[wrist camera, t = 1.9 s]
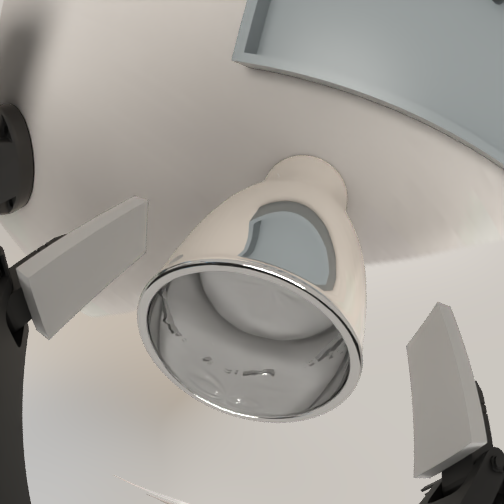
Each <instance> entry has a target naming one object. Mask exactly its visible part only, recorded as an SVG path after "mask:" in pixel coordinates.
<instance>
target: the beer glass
mask: <svg viewBox="0 0 504 504" xmlns="http://www.w3.org/2000/svg"><path fill="white" fill-rule="evenodd" d="M346 208H347V189H346V186H345V183H344V181H343V179H342V177H341V175H340V174H339V173H338V171H337V170H336V169H335V168H334V167H333V166H332V165H330V164H329V163H327V162H326V161H324V160H322V159H320V158H317V157H314V156H309V155H297V156H292V157H288V158H286V159H284V160H282V161H280V162H279V163H277V164H276V165H275V166H274V167H273V168H272V169H271V170H270V171H269V173H268V174H267V176H266V178H265V180H264V181H263V182H260V183H257V184H254V185H252V186H250V187H248V188H246V189H244V190H242V191H240V192H238V193H236V194H234V195H232V196H231V197H229V198H228V199H227V200H225V201H224V202H223V203H221V204H220V205H219V206H218V207H216V208H215V209H214V210H213V211H211V212H210V213H209V214H208V215H207V216H206V217H205V218H204V219H203V220H202V221H201V222H200V223H199V224H198V225H197V226H196V227H195V228H194V229H193V230H192V231H191V233H190V234H189V235H188V236H187V237H186V238H185V240H184V241H183V242H182V243H181V244H180V246H179V247H178V248H177V249H176V251H175V252H174V253H173V254H172V256H171V257H170V258H169V260H168V261H167V262H166V264H165V265H164V266H163V267H162V269H161V270H160V271H159V272H158V274H157V275H155V276H154V277H153V278H152V279H151V280H150V281H149V282H148V284H147V285H146V287H145V288H144V290H143V292H142V294H141V296H140V299H139V303H138V308H137V322H138V328H139V333H140V336H141V339H142V341H143V344H144V346H145V348H146V350H147V352H148V353H149V355H150V357H151V358H152V360H153V361H154V363H155V364H156V365H157V366H158V368H159V369H160V370H161V371H162V372H163V373H164V374H165V375H166V376H167V377H168V378H169V379H170V380H171V381H172V382H173V383H174V384H175V385H177V386H178V387H179V388H180V389H181V390H183V391H184V392H185V393H187V394H188V395H190V396H191V397H193V398H195V399H196V400H198V401H200V402H201V403H204V404H205V405H207V406H210V407H212V408H214V409H216V410H219V411H221V412H223V413H226V414H229V415H232V416H235V417H240V418H243V419H248V420H253V421H260V422H271V423H286V422H296V421H302V420H307V419H311V418H314V417H317V416H320V415H323V414H325V413H327V412H329V411H331V410H333V409H334V408H336V407H337V406H339V405H340V404H341V403H343V401H345V400H346V399H347V398H348V397H349V396H350V395H351V393H352V392H353V391H354V389H355V387H356V386H357V384H358V381H359V379H360V376H361V372H362V367H363V355H362V350H363V340H364V329H365V319H366V275H365V266H364V261H363V255H362V250H361V246H360V242H359V239H358V237H357V234H356V232H355V229H354V227H353V225H352V223H351V220H350V219H349V217H348V215H347V213H346V212H345V211H346Z"/></svg>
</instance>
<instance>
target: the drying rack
mask: <svg viewBox="0 0 504 504" xmlns="http://www.w3.org/2000/svg"><path fill="white" fill-rule="evenodd" d="M232 61H235V62H237V63H240V64H242V65H245V66H247V67H250V68H255V69H261V70H266V71H271V72H275V73H280V74H284V75H288V76H293V77H297V78H301V79H305V80H308V81H312V82H316V83H319V84H323V85H326V86H329V87H333V88H336V89H339V90H342V91H345V92H348V93H351V94H354V95H357V96H360V97H362V98H365V99H368V100H371V101H373V102H376V103H378V104H381V105H384V106H386V107H388V108H391V109H393V110H396V111H398V112H400V113H403V114H405V115H407V116H409V117H412V118H414V119H416V120H418V121H420V122H422V123H424V124H427V125H429V126H431V127H433V128H435V129H437V130H439V131H440V132H442V133H444V134H446V135H448V136H450V137H452V138H454V139H455V140H457V141H459V142H461V143H463V144H464V145H466V146H468V147H469V148H471V149H473V150H474V151H476V152H478V153H479V154H481V155H483V156H484V157H486V158H487V159H489V160H490V161H492V162H494V163H495V164H497V165H498V166H500V167H501V168H502V169H504V0H247V3H246V7H245V11H244V14H243V18H242V22H241V25H240V29H239V33H238V37H237V41H236V45H235V49H234V53H233V57H232Z"/></svg>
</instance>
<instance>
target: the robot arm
mask: <svg viewBox="0 0 504 504" xmlns="http://www.w3.org/2000/svg"><path fill="white" fill-rule="evenodd" d="M32 184H33V156H32V148H31V142H30V137H29V133H28V130H27V126H26V124H25V121H24V119H23V117H22V115H21V113H20V112H19V110H18V109H17V108H16V107H15V106H14V105H12V104H3V105H0V215H5V214H10V213H12V212H14V211H16V210H18V209H20V208H22V207H23V206H25V204H26V203H27V202H28V200H29V197H30V194H31V190H32ZM147 215H148V200H147V199H144V198H141V197H138V196H133V197H131V198H130V199H128V200H126V201H124V202H122V203H120V204H118V205H117V206H115V207H113V208H111V209H109V210H108V211H106V212H104V213H102V214H100V215H99V216H97V217H95V218H93V219H92V220H90V221H88V222H87V223H85V224H83V225H82V226H80V227H78V228H77V229H75V230H73V231H72V232H70V233H68V234H65V235H62V236H59V237H56V238H54V239H52V240H51V241H49V242H47V243H46V244H45V246H41V247H40V248H38V249H37V251H36V250H35V251H34V252H32V253H31V254H29V255H28V256H26V257H25V258H23V259H22V260H20V261H19V262H18V263H16V264H15V265H13V266H12V267H11V268H8V265H7V261H6V257H5V254H4V250H3V248H2V247H1V246H0V504H31V501H30V496H29V490H28V485H27V477H26V469H25V461H24V448H23V431H22V430H23V429H22V397H23V377H24V365H25V354H26V346H27V338H28V332H29V328H28V324H27V322H28V321H30V320H31V319H32V320H33V322H34V325H35V327H36V330H37V331H38V332H40V333H41V334H42V335H43V336H45V337H46V338H47V339H48V340H50V339H51V338H52V337H53V336H54V335H55V334H56V333H57V332H58V331H59V330H60V329H61V328H62V327H63V326H64V325H65V324H66V323H67V322H68V321H69V320H70V319H71V318H73V316H75V314H77V313H78V312H79V311H80V310H81V309H82V308H83V307H84V306H85V305H87V304H88V303H89V302H90V301H91V300H92V299H93V298H94V297H95V296H96V295H97V294H99V293H100V292H101V291H102V290H103V289H104V288H105V287H106V286H108V285H109V284H110V283H111V282H112V281H113V280H114V279H116V278H117V277H118V276H119V275H120V274H121V273H122V272H124V271H125V270H126V269H127V268H128V267H129V266H131V265H132V264H133V263H134V262H135V261H137V260H138V259H139V258H140V257H141V256H142V255H144V254H145V253H146V236H147ZM406 348H407V355H408V363H409V372H410V381H411V392H412V405H413V423H414V478H431V477H433V476H434V475H437V474H438V473H440V472H442V478H441V479H439V480H437V481H435V482H434V483H431V484H430V485H427V486H425V487H424V488H423V489H422V490H421V491H422V492H423V491H425V490H427V489H430V488H431V489H430V491H429V492H428V493H426V494H425V495H426V496H425V497H424V498H423V500H422V501H421V502H420V504H504V453H503V452H502V450H500V449H499V448H496V447H493V444H492V437H491V431H490V426H489V421H488V416H487V414H486V412H487V411H486V406H485V405H484V404H485V402H484V397H483V393H482V391H481V389H480V387H479V385H478V383H477V381H475V380H474V376H473V372H472V369H471V365H470V362H469V358H468V355H467V352H466V349H465V346H464V343H463V340H462V337H461V334H460V331H459V328H458V325H457V323H456V320H455V317H454V315H453V312H452V310H451V307H450V306H447V305H445V304H442V303H439V302H437V304H436V306H435V307H434V308H433V310H432V311H431V313H430V314H429V316H428V317H427V319H426V320H425V321H424V323H423V324H422V325H421V327H420V328H419V330H418V331H417V332H416V334H415V335H414V336H413V338H412V339H411V341H410V342H409V343H408V344H407V346H406Z"/></svg>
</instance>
